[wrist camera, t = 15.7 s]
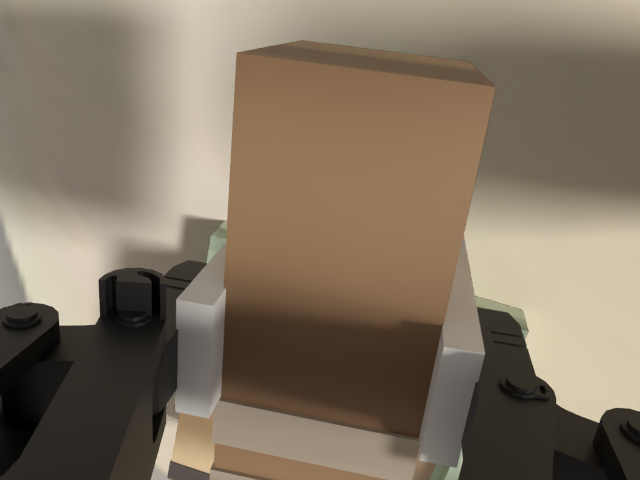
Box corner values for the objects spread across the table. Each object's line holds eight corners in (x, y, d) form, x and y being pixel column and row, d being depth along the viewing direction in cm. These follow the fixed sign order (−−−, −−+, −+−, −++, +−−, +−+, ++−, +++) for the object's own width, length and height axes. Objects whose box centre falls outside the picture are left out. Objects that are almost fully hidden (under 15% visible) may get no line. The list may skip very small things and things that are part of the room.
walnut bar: (300, 40, 16) (232, 52, 10) (471, 62, 15) (499, 88, 10) (266, 401, 20) (205, 549, 15) (397, 427, 20) (387, 591, 14)
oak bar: (235, 264, 33) (193, 319, 27) (312, 288, 33) (286, 348, 27) (204, 422, 38) (164, 495, 32) (271, 444, 38) (242, 522, 32)
